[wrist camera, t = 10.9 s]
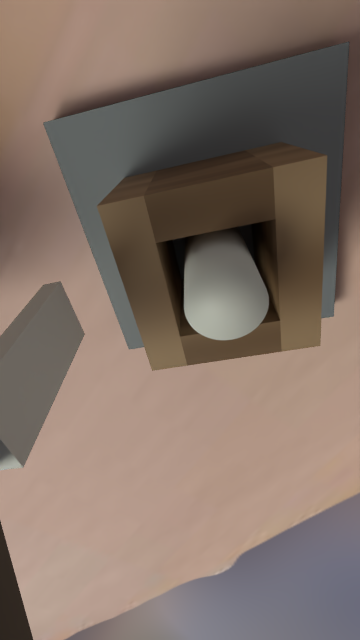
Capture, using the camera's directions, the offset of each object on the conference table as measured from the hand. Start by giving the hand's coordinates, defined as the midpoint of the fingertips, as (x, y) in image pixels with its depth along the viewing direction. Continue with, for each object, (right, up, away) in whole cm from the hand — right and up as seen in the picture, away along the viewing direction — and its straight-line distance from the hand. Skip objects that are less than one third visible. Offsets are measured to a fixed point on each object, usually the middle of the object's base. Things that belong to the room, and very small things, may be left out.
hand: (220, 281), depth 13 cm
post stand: (0, +4, +6) cm, 7 cm away
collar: (0, +3, +5) cm, 6 cm away
